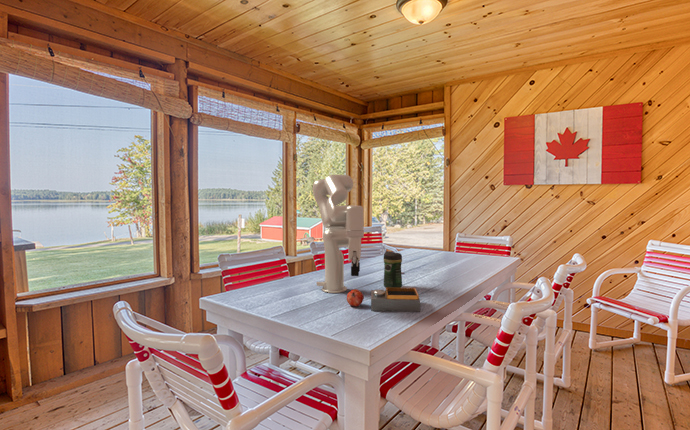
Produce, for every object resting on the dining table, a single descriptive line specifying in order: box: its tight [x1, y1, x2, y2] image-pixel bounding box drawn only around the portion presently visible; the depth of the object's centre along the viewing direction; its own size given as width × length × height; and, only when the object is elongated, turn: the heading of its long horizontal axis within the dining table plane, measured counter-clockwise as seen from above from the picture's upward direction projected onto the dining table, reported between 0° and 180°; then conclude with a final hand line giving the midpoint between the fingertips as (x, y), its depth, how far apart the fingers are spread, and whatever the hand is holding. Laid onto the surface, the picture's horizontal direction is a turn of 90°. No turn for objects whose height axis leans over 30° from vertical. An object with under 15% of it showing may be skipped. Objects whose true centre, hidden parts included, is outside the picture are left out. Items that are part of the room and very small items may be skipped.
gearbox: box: [370, 287, 421, 313], centre depth 150 cm, size 20×14×6 cm
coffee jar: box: [383, 251, 403, 288], centre depth 182 cm, size 10×8×19 cm
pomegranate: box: [346, 288, 364, 307], centre depth 151 cm, size 7×7×10 cm
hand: (355, 273), depth 150 cm, fingers open, 9 cm apart
